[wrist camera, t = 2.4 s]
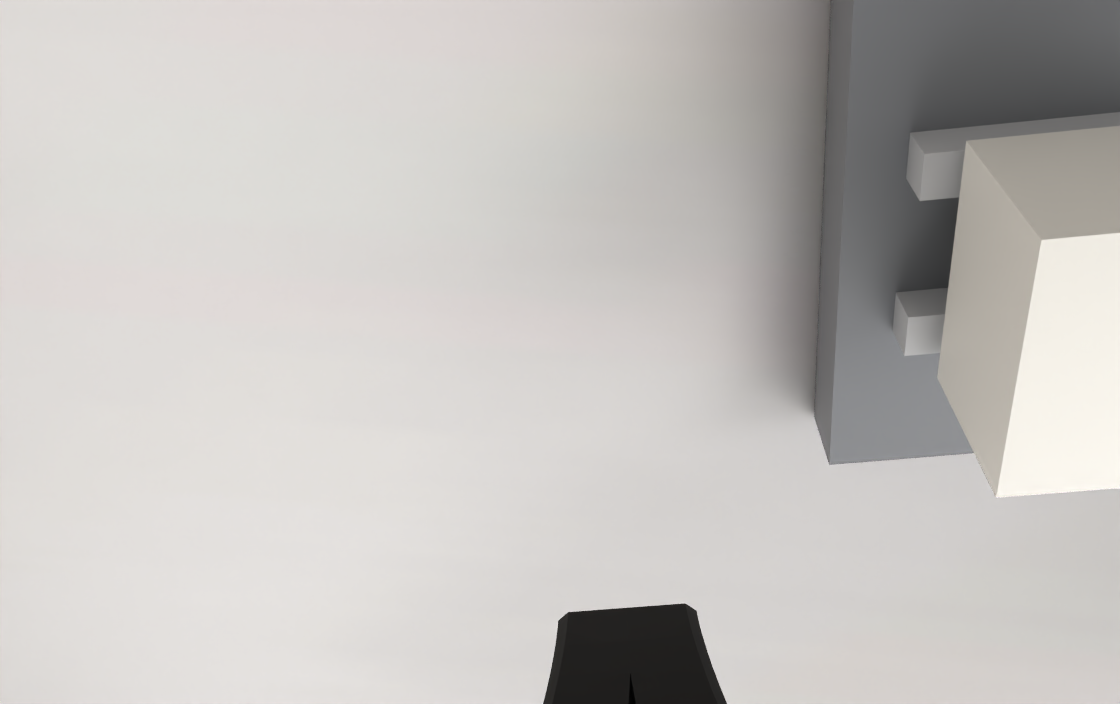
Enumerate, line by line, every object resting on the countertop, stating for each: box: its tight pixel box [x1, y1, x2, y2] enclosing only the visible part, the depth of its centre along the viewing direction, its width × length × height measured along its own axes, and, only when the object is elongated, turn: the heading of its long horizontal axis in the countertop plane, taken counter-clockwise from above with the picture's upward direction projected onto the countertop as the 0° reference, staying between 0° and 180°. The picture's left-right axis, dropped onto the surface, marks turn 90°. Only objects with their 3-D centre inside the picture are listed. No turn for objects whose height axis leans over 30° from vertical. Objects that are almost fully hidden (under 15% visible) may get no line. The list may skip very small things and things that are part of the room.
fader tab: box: [937, 126, 1120, 498], centre depth 16 cm, size 4×4×4 cm
